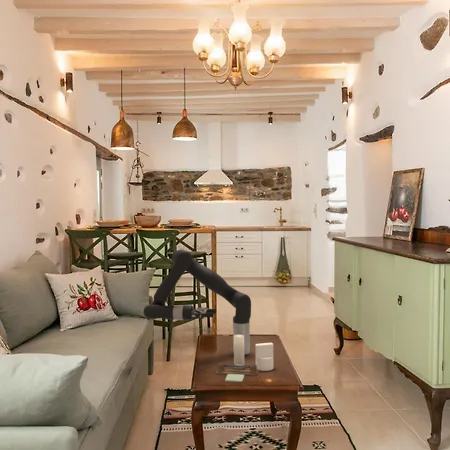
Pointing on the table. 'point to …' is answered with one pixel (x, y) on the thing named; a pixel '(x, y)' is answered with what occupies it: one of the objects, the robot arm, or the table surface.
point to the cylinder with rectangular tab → (264, 356)
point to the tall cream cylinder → (239, 350)
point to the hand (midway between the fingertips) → (214, 313)
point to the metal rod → (236, 365)
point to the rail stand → (250, 372)
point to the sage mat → (234, 378)
